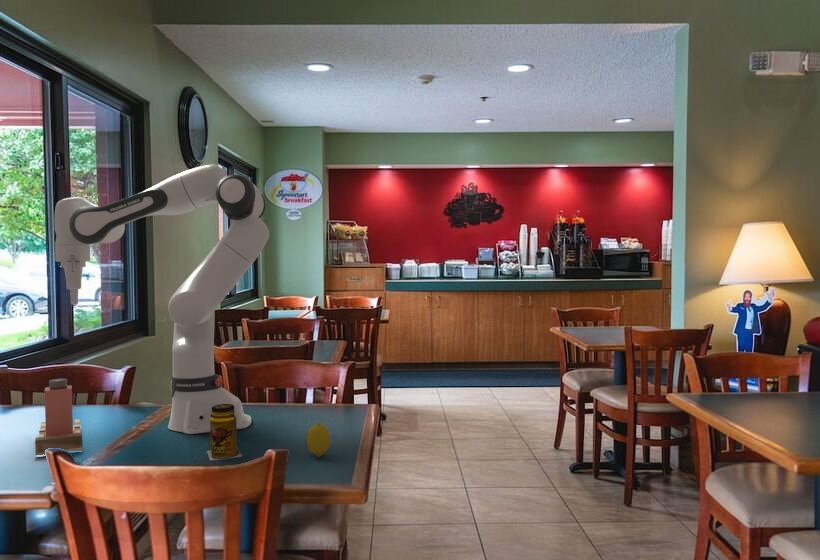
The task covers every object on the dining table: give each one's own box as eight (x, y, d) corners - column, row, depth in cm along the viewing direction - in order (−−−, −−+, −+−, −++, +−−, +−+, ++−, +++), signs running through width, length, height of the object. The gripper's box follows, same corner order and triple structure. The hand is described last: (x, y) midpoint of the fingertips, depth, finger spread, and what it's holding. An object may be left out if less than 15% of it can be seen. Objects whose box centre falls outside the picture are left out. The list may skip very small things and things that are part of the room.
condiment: (210, 461, 158) (209, 410, 157) (206, 451, 166) (205, 402, 165) (242, 457, 161) (241, 407, 160) (237, 448, 169) (236, 400, 168)
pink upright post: (46, 438, 174) (45, 379, 174) (73, 435, 177) (71, 377, 176) (46, 442, 170) (44, 382, 169) (73, 439, 172) (71, 380, 172)
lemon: (307, 453, 163) (307, 420, 163) (331, 452, 164) (330, 419, 163) (306, 460, 158) (305, 426, 157) (330, 459, 158) (329, 425, 158)
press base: (40, 434, 183) (39, 418, 183) (81, 429, 188) (80, 414, 187) (35, 458, 162) (35, 440, 162) (82, 452, 166) (81, 435, 166)
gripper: (85, 255, 184) (87, 306, 185) (84, 255, 203) (86, 301, 203) (59, 255, 181) (61, 307, 182) (61, 255, 200) (62, 302, 200)
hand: (74, 304), depth 193 cm, fingers closed
